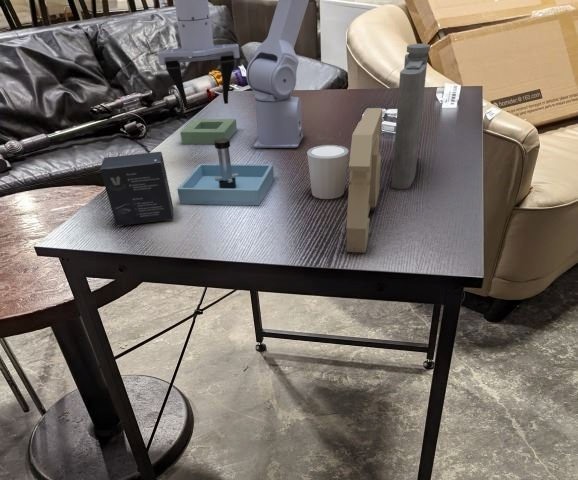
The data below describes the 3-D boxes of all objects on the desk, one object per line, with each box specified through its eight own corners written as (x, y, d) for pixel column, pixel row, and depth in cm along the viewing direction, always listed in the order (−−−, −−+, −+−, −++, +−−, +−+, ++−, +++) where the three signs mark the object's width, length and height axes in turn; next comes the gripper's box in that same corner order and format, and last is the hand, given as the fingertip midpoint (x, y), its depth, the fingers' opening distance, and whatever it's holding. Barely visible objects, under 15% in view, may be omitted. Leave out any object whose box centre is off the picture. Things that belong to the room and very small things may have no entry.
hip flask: (397, 157, 102) (407, 36, 89) (418, 158, 102) (431, 35, 88) (390, 189, 91) (401, 54, 78) (414, 189, 90) (429, 54, 77)
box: (174, 207, 90) (162, 150, 84) (173, 221, 86) (161, 161, 80) (119, 214, 89) (103, 156, 83) (116, 227, 85) (98, 168, 79)
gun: (366, 257, 73) (373, 140, 64) (343, 256, 73) (346, 140, 65) (379, 202, 92) (385, 106, 83) (360, 201, 93) (364, 106, 84)
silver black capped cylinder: (235, 181, 96) (229, 135, 91) (242, 189, 93) (237, 141, 88) (213, 186, 95) (206, 139, 90) (220, 193, 92) (213, 146, 87)
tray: (274, 178, 98) (273, 164, 96) (259, 205, 89) (257, 190, 87) (201, 177, 100) (199, 163, 98) (179, 203, 91) (177, 188, 89)
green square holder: (237, 130, 122) (235, 118, 120) (225, 144, 115) (223, 132, 113) (196, 130, 124) (194, 118, 122) (182, 144, 116) (180, 132, 115)
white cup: (308, 186, 94) (307, 145, 89) (346, 184, 94) (347, 143, 89) (308, 201, 89) (306, 158, 84) (348, 199, 88) (349, 156, 84)
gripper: (151, 25, 88) (167, 113, 97) (237, 17, 89) (245, 105, 98) (152, 20, 93) (167, 104, 102) (233, 13, 94) (241, 96, 103)
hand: (206, 104), depth 100 cm, fingers open, 7 cm apart
